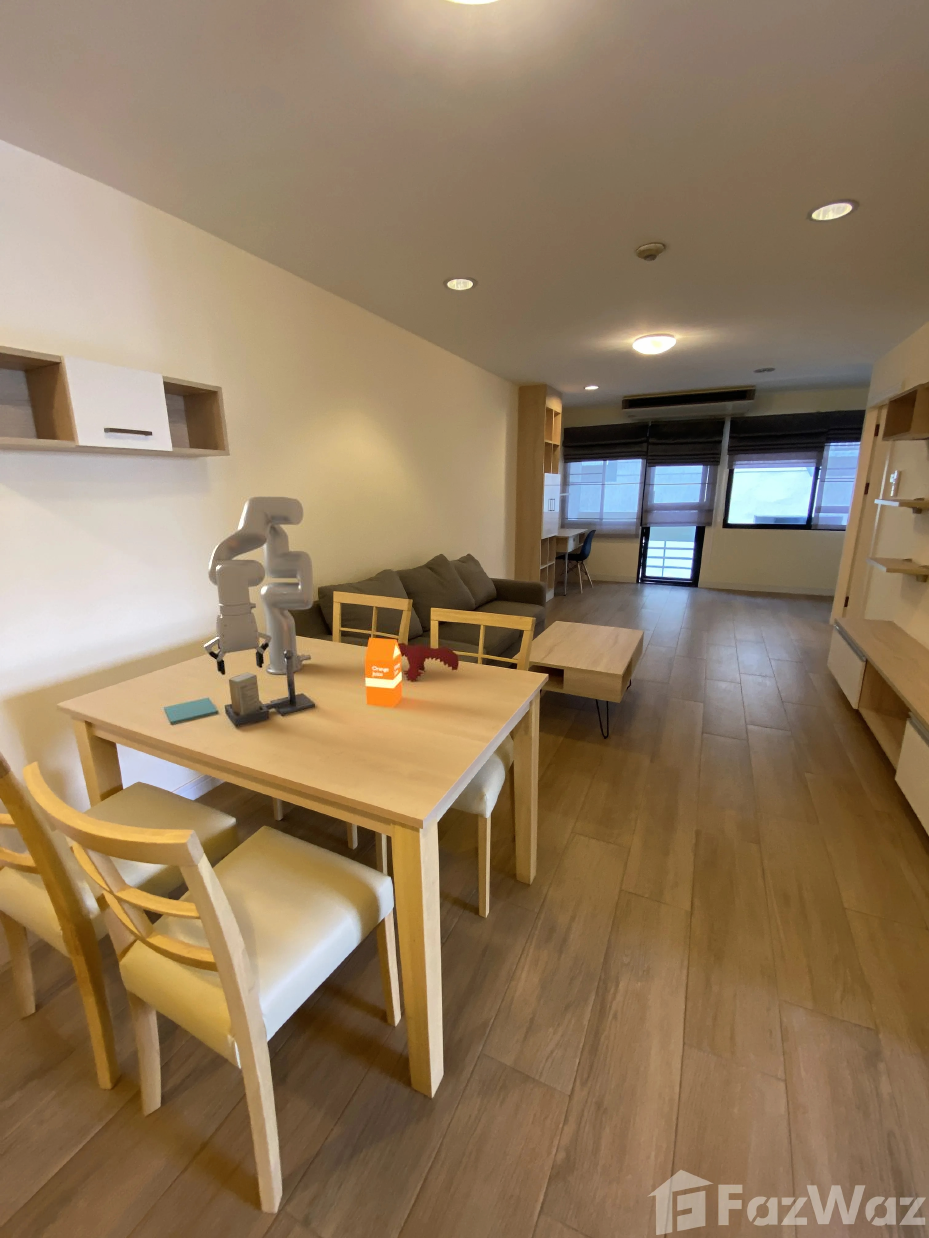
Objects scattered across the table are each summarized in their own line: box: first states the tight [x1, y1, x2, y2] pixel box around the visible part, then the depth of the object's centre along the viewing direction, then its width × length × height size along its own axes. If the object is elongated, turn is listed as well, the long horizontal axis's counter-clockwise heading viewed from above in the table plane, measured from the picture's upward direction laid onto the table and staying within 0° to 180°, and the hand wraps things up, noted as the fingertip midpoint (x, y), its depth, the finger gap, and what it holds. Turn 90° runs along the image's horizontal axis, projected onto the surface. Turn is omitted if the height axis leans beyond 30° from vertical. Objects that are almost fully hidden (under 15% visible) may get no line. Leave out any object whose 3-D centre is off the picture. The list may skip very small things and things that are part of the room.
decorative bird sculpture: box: [398, 642, 460, 682], centre depth 175 cm, size 28×9×15 cm
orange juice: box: [364, 637, 403, 708], centre depth 152 cm, size 8×9×20 cm
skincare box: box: [228, 671, 261, 716], centre depth 141 cm, size 6×4×12 cm
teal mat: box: [163, 696, 219, 725], centre depth 146 cm, size 12×12×1 cm
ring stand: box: [224, 650, 316, 728], centre depth 144 cm, size 22×11×18 cm, turn 128°
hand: (241, 670), depth 138 cm, fingers open, 9 cm apart
